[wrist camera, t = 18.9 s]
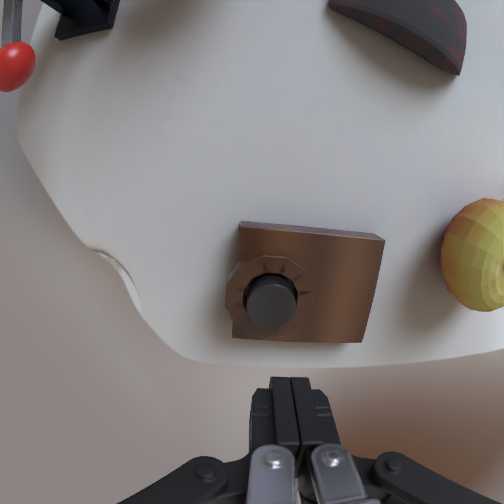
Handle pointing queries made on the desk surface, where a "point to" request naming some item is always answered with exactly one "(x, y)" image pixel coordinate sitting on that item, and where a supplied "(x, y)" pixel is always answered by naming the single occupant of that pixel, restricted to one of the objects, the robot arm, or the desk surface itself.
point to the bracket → (83, 16)
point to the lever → (14, 49)
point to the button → (270, 302)
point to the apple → (476, 255)
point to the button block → (307, 280)
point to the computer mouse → (416, 26)
